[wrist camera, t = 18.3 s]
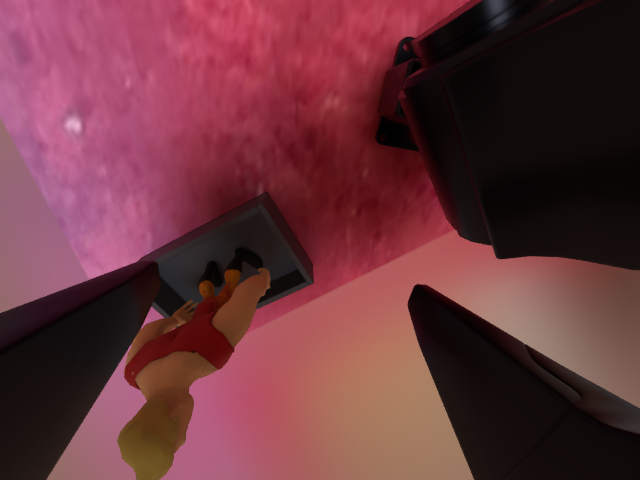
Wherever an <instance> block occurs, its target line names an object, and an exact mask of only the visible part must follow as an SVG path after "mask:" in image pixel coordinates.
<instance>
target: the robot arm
mask: <svg viewBox="0 0 640 480" xmlns="http://www.w3.org/2000/svg"><path fill="white" fill-rule="evenodd" d="M404 43H407V44H408V45H409V49H408V51H404V49H403V45H404ZM377 112H378V114H379V116H380V119H379V123H378V127H377V131H376V135H375V140H376V142H377V143H379V144H381V145H386V146H391V147H397V148H403V149H408V150H414V151H419V152H420V154H421V157H422V159H423V161H424V164H425V166H426V169H427V171H428V174H429V176H430V179H431V181H432V184H433V186H434V189H435V191H436V194H437V196H438V199H439V201H440V204H441V206H442V209H443V211H444V214H445V216H446V219H447V220H448V222H449V223H450V224H451V225H452V227H453V228H454V229H455V230H457V232H458V234H459V236H460V237H462V238H465V239H467V240H469V241H471V242H476V243H481V244H486V245H492V246H493V250H494V253H495V255H496V258H498V259H508V258H517V257H526V256H543V257H563V258H570V259H576V260H583V261H588V262H593V263H598V264H603V265H609V266H614V267H620V268H625V269H630V270H640V0H470V1H469V2H467V3H466V4H465V5H463V6H462V7H460V8H459V9H457V10H456V11H454V12H453V13H452V14H450V15H449V16H447V17H446V18H444V19H443V20H442V21H440V22H439V23H437V24H436V25H434V26H433V27H431V28H430V29H429V30H427V31H426V32H424V33H423V34H421V35H420V36H418V37H417V38H412V37H406V38H404V39H402V40H401V41H400V42H399V44H398V47H397V51H396V55H395V59H394V63H393V67H392V68H391V69H389V70H388V71H387V73H386V77H385V81H384V85H383V89H382V93H381V98H380V102H379V106H378V110H377ZM382 134H384V135H385V139H384V140H383V141H381V140H380V136H381V135H382ZM160 285H161V281H160V273H159V266H158V263H157V262H156V261H149V260H141V261H138V262H136V263H133V264H130V265H128V266H125V267H122V268H120V269H117V270H114V271H112V272H109V273H106V274H104V275H101V276H98V277H96V278H93V279H90V280H88V281H85V282H82V283H80V284H77V285H74V286H72V287H69V288H66V289H64V290H61V291H58V292H56V293H53V294H50V295H48V296H45V297H43V298H40V299H37V300H34V301H32V302H29V303H26V304H24V305H21V306H18V307H16V308H13V309H10V310H8V311H5V312H2V313H0V480H46V479H47V478H48V476H49V474H50V473H51V471H52V470H53V468H54V467H55V465H56V463H57V462H58V460H59V459H60V457H61V455H62V454H63V452H64V451H65V449H66V447H67V446H68V444H69V443H70V441H71V439H72V437H73V436H74V435H75V433H76V431H77V430H78V428H79V427H80V425H81V423H82V422H83V420H84V419H85V417H86V415H87V414H88V412H89V411H90V409H91V408H92V406H93V404H94V403H95V401H96V399H97V398H98V396H99V395H100V393H101V392H102V390H103V388H104V387H105V385H106V383H107V382H108V380H109V379H110V377H111V376H112V374H113V372H114V371H115V369H116V368H117V366H118V364H119V363H120V361H121V359H122V358H123V356H124V355H125V353H126V352H127V350H128V348H129V347H130V345H131V344H132V342H133V340H134V339H135V337H136V336H137V334H138V332H139V330H140V329H141V327H142V325H143V323H144V321H145V318H146V316H147V314H148V312H149V310H150V308H151V306H152V304H153V302H154V300H155V298H156V295H157V293H158V291H159V289H160ZM408 309H409V313H410V316H411V320H412V323H413V326H414V330H415V333H416V336H417V340H418V343H419V346H420V348H421V351H422V353H423V356H424V358H425V361H426V363H427V365H428V368H429V370H430V373H431V375H432V378H433V380H434V383H435V385H436V388H437V390H438V392H439V395H440V397H441V400H442V402H443V404H444V407H445V410H446V412H447V414H448V417H449V419H450V421H451V424H452V427H453V429H454V431H455V434H456V436H457V439H458V441H459V444H460V446H461V448H462V450H463V453H464V456H465V458H466V460H467V463H468V466H469V468H470V470H471V473H472V475H473V478H474V480H640V408H638V407H636V406H634V405H632V404H631V403H629V402H627V401H625V400H624V399H622V398H620V397H618V396H616V395H614V394H612V393H611V392H609V391H607V390H605V389H604V388H602V387H600V386H598V385H596V384H594V383H593V382H591V381H589V380H587V379H585V378H583V377H582V376H580V375H578V374H576V373H575V372H573V371H571V370H569V369H567V368H565V367H564V366H562V365H560V364H558V363H557V362H555V361H553V360H552V359H550V358H548V357H546V356H545V355H543V354H541V353H540V352H538V351H536V350H535V349H533V348H531V347H529V346H528V345H526V344H524V343H522V342H521V341H519V340H518V339H516V338H514V337H513V336H511V335H509V334H508V333H506V332H504V331H502V330H501V329H499V328H498V327H496V326H494V325H493V324H491V323H489V322H488V321H486V320H484V319H482V318H481V317H479V316H478V315H476V314H474V313H473V312H471V311H469V310H468V309H466V308H464V307H462V306H461V305H459V304H458V303H456V302H454V301H453V300H451V299H449V298H448V297H446V296H444V295H443V294H441V293H439V292H438V291H436V290H434V289H433V288H431V287H429V286H427V285H421V284H417V285H415V286H414V288H413V290H412V293H411V295H410V298H409V300H408Z"/></svg>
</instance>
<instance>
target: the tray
mask: <svg viewBox="0 0 640 480" xmlns="http://www.w3.org/2000/svg"><path fill="white" fill-rule="evenodd" d="M238 248H244V249H246V250H248V251H250V252H251V253H253V254H255V255H257V256H258V257H259V258H260V259H261V260H262V262H263V266H262V268H266V269H268V270H269V273H270V285H269V286H271V287H270V288H269V289H267V290H266V292H265V295H264V296H261V297H260V299H259V301H258V302H257V306H256V309H258V308H260V307H262V306H265V305H267V304H269V303H271V302H274V301H276V300H278V299H280V298H282V297H285V296H287V295H289V294H291V293H294V292H296V291H298V290H300V289H302V288H305V287H307V286H309V285H311V284H313V283H314V278H313V264H312V262H311V261H310V259H309V258H308V256H307V254H306V253H305V251H304V250H303V248H302V246H301V245H300V243H299V242H298V240H297V238H296V237H295V235H294V234H293V232H292V230H291V229H290V227H289V226H288V224H287V222H286V221H285V219H284V218H283V216H282V214H281V213H280V211H279V210H278V208H277V206H276V205H275V203H274V202H273V200H272V198H271V197H270V195H269V194H268V192H265V193H263V194H261V195H259V196H257V197H255V198H253V199H252V200H250V201H248V202H246V203H244V204H242V205H240V206H238V207H236V208H235V209H233V210H231V211H229V212H227V213H225V214H223V215H221V216H219V217H218V218H216V219H214V220H212V221H210V222H208V223H206V224H204V225H203V226H201V227H199V228H197V229H195V230H193V231H191V232H189V233H187V234H186V235H184V236H182V237H180V238H178V239H176V240H174V241H172V242H170V243H169V244H167V245H165V246H163V247H161V248H159V249H157V250H155V251H153V252H152V253H150V254H148V255H146V256H144V257H142V258H141V259H140V260H139V261H141V260H149V261H156V262H157V263H158V266H159V273H160V281H161V285H160V289H159V291H158V293H157V295H156V298H155V300H154V302H153V304H152V307H153V308H154V309H155V310H156V311H158V312H159V313H160V314H161V315H162V316H163V317H164V318H169V317H172V315H173V314H174V313H175V312H176V311H177V310H179V309H180V308H181V307H182V306H184V305H185V304H186V303H187V302H188V301H189V300H193V302H192V303H191V304H190V305H189V306H187V307H186V308H185V309H184V310H186V309H188V308H189V307H190V306H191V305H192V304H193V303H195V302H197V303H198V304H199V303H201V302H202V300H203V298H204V297H203V296H202V295H201V294H200V291H199V288H198V282H199V279H200V277H201V276H202V275H203V273H204V272H205V268H206V265H207V263H208V262H210V261H213V262H215V263H216V265H217V273H218V275H219V276H220V278H221V279H222V286H221V287H219V288H217V287H214V294H215V296H216V297H217V296H218V295H219V293H220V292H221V290H222V289H223V287H224V286H225V285H226V280H225V269H226V267H227V266H228V264H229V263H230V262H231V261H232V260H233V259H234V257H235V250H236V249H238ZM137 262H138V261H137ZM260 273H261V272H258V269H255V268H253V267H252V266H250V265H249V264H248V263H246V262H244V261H242V273H241V275H240V279H239V283H238V285H239V284H240V283H242V282H244V281H245V280H247V279H248V278H250V277H251V276H254V275H260ZM238 285H237V286H238ZM198 304H197V305H198ZM197 305H196V306H195V307H194V308H193V309H191V310H190V311H189V312H188V314H189V313H191V312H192V311H194V310H195V309H196V307H197ZM193 316H194V315H193ZM193 316H192V317H193ZM177 327H179V326H176V327H175V328H177Z"/></svg>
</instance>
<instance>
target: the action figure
mask: <svg viewBox="0 0 640 480" xmlns="http://www.w3.org/2000/svg"><path fill="white" fill-rule="evenodd" d="M242 261H244V262H246V263H248V264H249V265H250V266H252V267H253V268H255V269H258V272H261V273H260V275H254V276H251V277H250V278H248V279H247V280H245V281H244V282H242V283H240V284H239V285H238V283H239V279H240V275H241V273H242ZM262 266H263V262H262V260H261V259H260V258H259V257H258V256H257V255H255V254H253V253H251V252H250V251H248V250H246V249H244V248H238V249H236V250H235V257H234V259H233V260H232V261H231V262H230V263H229V264H228V266H227V267H226V269H225V280H226V285H225V286H224V287H223V289H222V290H221V292H220V293H219V295H218V296H217V297H216V296H215V294H214V287H217V288H219V287H221V286H222V279H221V278H220V276H219V275H218V273H217V265H216V263H215V262H213V261H210V262H208V263H207V265H206V268H205V272H204V273H203V275H202V276H201V277H200V279H199V282H198V288H199V291H200V294H201V295H202V296H203V297H204V298H203V300H202V302H201V303H199V304H198V303H197V302H195V303H193V304H192V305H191V306H190V307H189V308H188V309H186V310H184V309H185V308H186V307H187V306H189V305H190V304H191V303H192V302H193V300H189V301H188V302H187V303H186V304H185V305H184V306H182V307H181V308H180V309H179V310H177V311H176V312H175V313H174V314H173V315H172V317H169V318H163V319H159V320H156V321H153V322H151V323H148V324H146V325H145V326H144V327H143V328H142V329H141V330H139V332H138V334H137V336H136V337H135V339H134V340H133V342H132V346H131V349H130V351H129V353H128V356H127V360H126V366H125V370H124V374H125V375H124V378H125V379H126V380H127V382H128V383H129V385H131V386H133V387H135V388H137V389H139V390H141V391H142V393H143V395H144V396H145V398H146V400H147V402H146V403H145V404H144V405H143V407H142V408H141V409H140V411H139V412H138V413H137V414H136V416H134V417H133V419H132V420H131V421H129V422H128V423H127V424H126V425H125V427H124V428H123V429H122V430H121V432H120V434H119V437H118V440H117V442H118V445H119V447H120V451H121V455H122V459H123V460H124V461H125V462H126V463H127V464H128V465H130V466H131V467H132V468H133V469H134V471H135V473H136V478H137V480H159V479H160V478H162V477H163V476H164V475H165V474H166V473H167V471H168V470H169V468H170V467H171V466H172V463H173V458H174V453H175V452H176V451H177V450H178V449H179V447H180V446H182V445H183V444H184V443H185V440H186V431H187V428H188V424H189V422H190V420H191V416H192V411H193V406H194V400H193V397H192V396H191V395H190V394H189V387H190V386H191V384H192V383H193V382H194V381H195V380H197V379H198V378H201V377H205V376H207V375H209V374H212V373H213V372H215V371H217V370H219V369H221V368H222V367H223V366H224V365H225V364H226V363H227V362H228V360H229V358H230V356H231V354H232V353H233V352H234V347H235V346H236V345H237V343H238V342H239V341H240V340H241V339H242V338H243V336H244V335H245V333H246V331H247V330H248V328H249V326H250V324H251V321H252V318H253V316H254V313H255V310H256V306H257V302H258V301H259V299H260V297H261V296H264V295H265V292H266V290H267V289H269V288H270V287H271V286H269V285H270V273H269V270H268V269H266V268H262ZM237 285H238V286H237ZM197 304H198V305H197ZM196 305H197V307H196V309H195V310H194V311H192V312H191V313H189V314H188V312H189V311H190V310H191V309H193V308H194V307H195V306H196ZM193 315H194V316H193ZM192 316H193V317H192ZM176 326H179V327H177V328H175V327H176ZM174 328H175V329H174ZM172 329H173V330H172ZM171 330H172V331H171Z"/></svg>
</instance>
